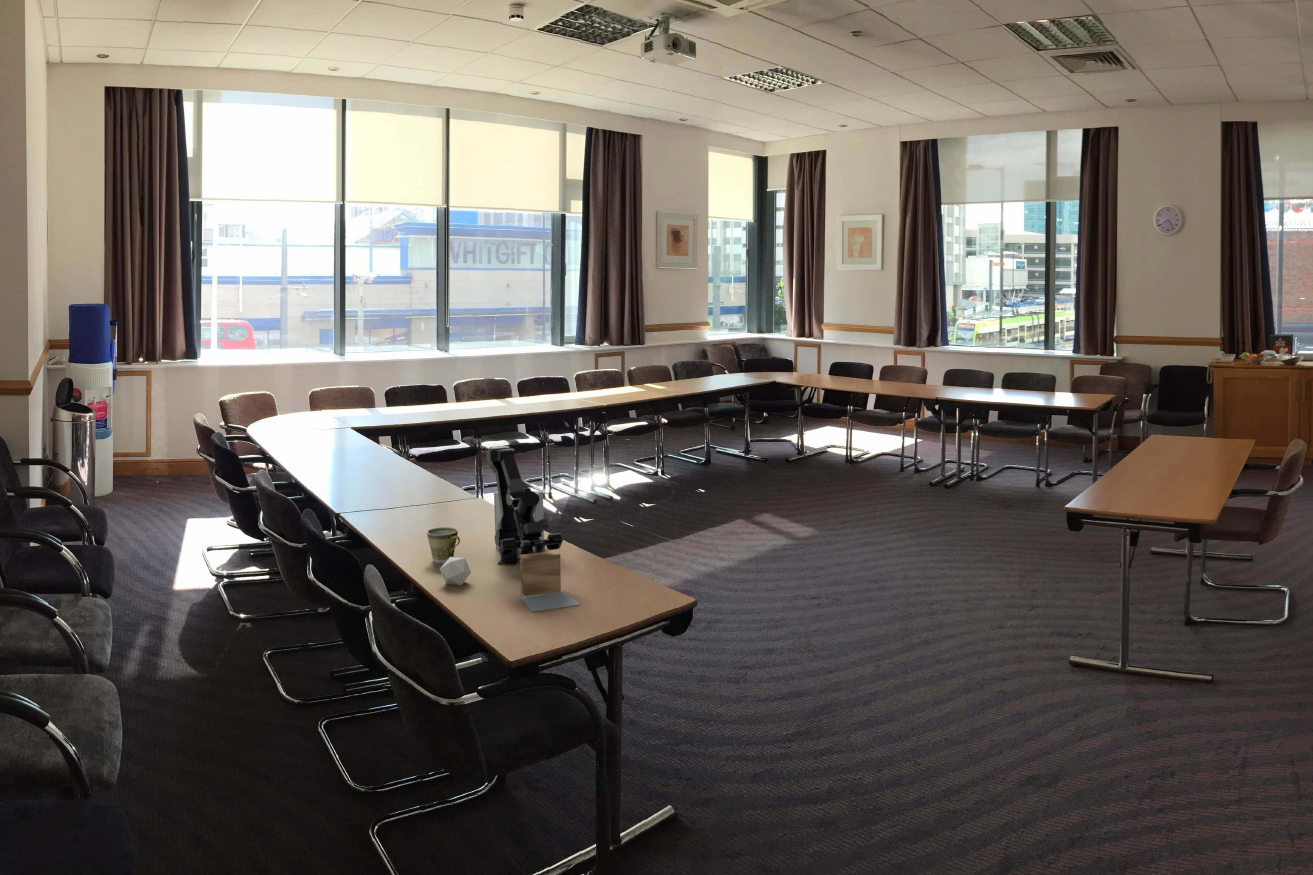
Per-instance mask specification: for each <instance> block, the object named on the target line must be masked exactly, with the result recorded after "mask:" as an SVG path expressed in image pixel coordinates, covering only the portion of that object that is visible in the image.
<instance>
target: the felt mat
mask: <svg viewBox="0 0 1313 875" xmlns="http://www.w3.org/2000/svg"><path fill="white" fill-rule="evenodd" d="M519 599H520V600H521V601H522V602H523V603H524V605H525V606H526V607H527V608H528V609H529V610H530V611H531V612H532V613H537V612H544V611H550V610H551V611H552V610H558V609H565V608H573V607H578V606H579V607H580V606H581V604H580V603H579V602H578V601H577V600H576V599H575V598H574V597H572V596H571V595H570V594H569V593H568V592H567V591H564V592H563V591H561V593H554V594H547V595H540V596H533V597H526V598H524V597H520V598H519Z"/></svg>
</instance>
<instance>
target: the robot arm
mask: <svg viewBox="0 0 1313 875" xmlns="http://www.w3.org/2000/svg"><path fill="white" fill-rule="evenodd" d="M485 456H486V457H485V458H486V461H487V462H488V466H489V468H490V469H491V470H492V472H493V473H494V475H495V480H496V488H497V492H498V496H499V503H500V511H501V518H500V520H499V523H498V528H497V531H496V534H495V535H494V544H495V546H496V545H497V546H498V547H500V548H499V549H498V550H499V554H500V559H499V561H497V564H498V565H517V566H518V564H519V563H520V557H519V556H520V555H524V554H533V553H541V552H545V548H546V549H547V550H548V551H557V550H559V549H561V546H562V544H563V542H564V537H563V536H564V535H562V533H560V532H556V533H548V536H547V538H544V539H540V538H539V537H541V536H542V533H541V532H543V530H544V531H545V530H548V529H549V527H550V526H549V521H548V519H547V518H544V519H541V520H540V521H537V522H536V521H535V519H534V516H533V514H534V513H535V512H536V509H537V506H538V503H539V500H540V499H539V496H538V495H537V494H536V493H535V492H533V491H534V490H533V491H531V490H532V489H531V488H530V487H529V485H528V484H527V483H526V482H525V481H523V480H522V477H521V474H520V470H519V468H518V467H519V466H518V464H517V460H516V451H515V448H511V447H510V446H509V445H500V446H490V447H489V450H486V455H485ZM516 507H517V509H516V510H514V508H516ZM533 547H534V552H533ZM518 548H519V550H520V551H519V550H518Z"/></svg>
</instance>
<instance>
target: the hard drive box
mask: <svg viewBox="0 0 1313 875" xmlns="http://www.w3.org/2000/svg"><path fill="white" fill-rule="evenodd" d="M531 491H533V492H535V493H536V494H537V495H538V496H539V499H540V500H539V503H538V506H537V509H536V512H535V513H534V514H533V516H534V519H535V521H536V522H537V521H540V520H541V519H545V518H544V491H543V490H532V489H531ZM493 499H494V501H493V502H494V505H493V506H494V525H495V526H494V527H495V528H494V529H495V534H496V531H497V528H498V523H499V520H500V518H501V511H500V503H499V496H498V491H496V492H494V493H493ZM516 509H517V507H516V508H514V510H516ZM541 533H542V536H541V537H539V538H540V539H545V530H543V532H541ZM499 548H500V547H498V546H497V545H496V544H495V549H497V550H499ZM518 552H520V550H519V548H518ZM533 552H534V547H533Z"/></svg>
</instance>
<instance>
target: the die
mask: <svg viewBox="0 0 1313 875" xmlns="http://www.w3.org/2000/svg"><path fill="white" fill-rule="evenodd" d="M439 571H440V573H441V576H442V578H443V581H444V582H445V584H446V585H455V586H462V585H463V584H464V583H465V581H466V580H467V579H468V578H469V576H470V575H471V574H472V571H471V569H470V566H469V564H468V561H467V560H466V558H465V557H455V556H454V557H449V559H448V560H447V561H446V562H445V563H443V564H442V566H441V567H440V568H439Z"/></svg>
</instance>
